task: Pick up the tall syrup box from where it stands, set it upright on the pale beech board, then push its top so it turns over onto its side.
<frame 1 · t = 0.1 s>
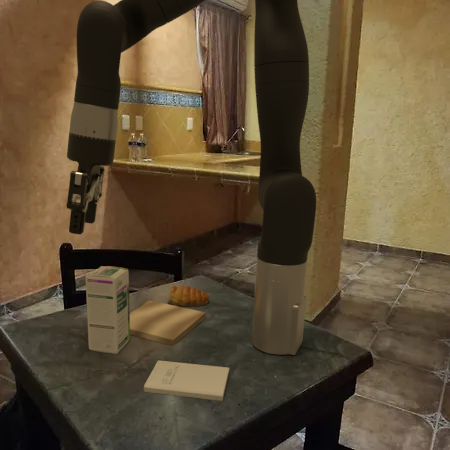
hand: (82, 227, 76), 22 cm above the table, tool pointing down, fingers open, 8 cm apart
board: (160, 323, 91), on the table
syrup box: (109, 346, 81), on the table
pastry: (185, 302, 103), on the table
external hard drive: (188, 385, 71), on the table
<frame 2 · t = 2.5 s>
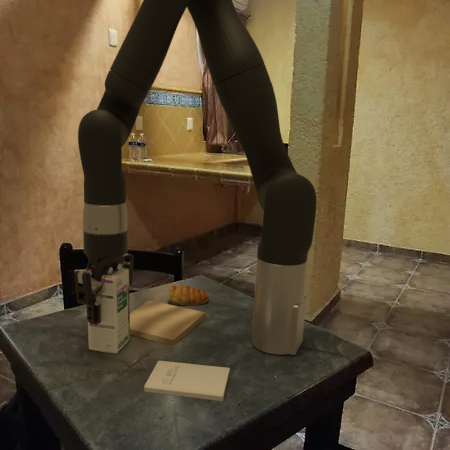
hand: (106, 315, 80), 6 cm above the table, tool pointing down, fingers closed on syrup box, 6 cm apart
syrup box: (109, 345, 81), on the table, touching gripper
everything else where it was.
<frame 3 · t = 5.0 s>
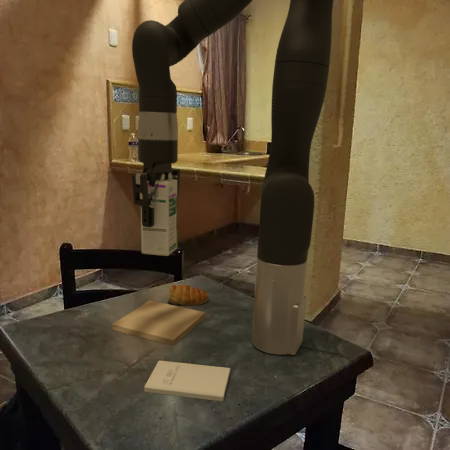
hand: (157, 223, 87), 21 cm above the table, tool pointing down, fingers closed on syrup box, 6 cm apart
syrup box: (159, 252, 88), point 15 cm above the table, touching gripper
everything else where it was.
when the fingers open (8 cm above the table, at t = 7.6 s): syrup box stays where it is, resting on board.
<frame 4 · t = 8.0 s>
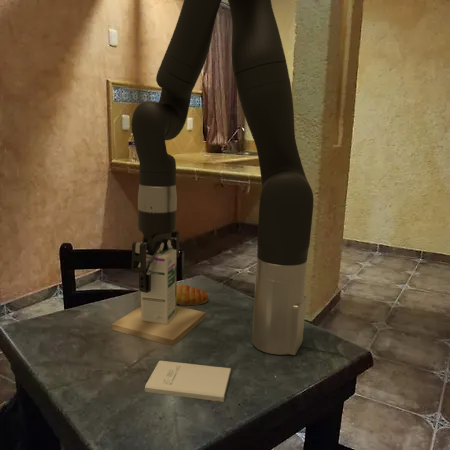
hand: (156, 285, 89), 8 cm above the table, tool pointing down, fingers open, 8 cm apart
syrup box: (158, 318, 91), point 1 cm above the table, touching board
everything else where it was.
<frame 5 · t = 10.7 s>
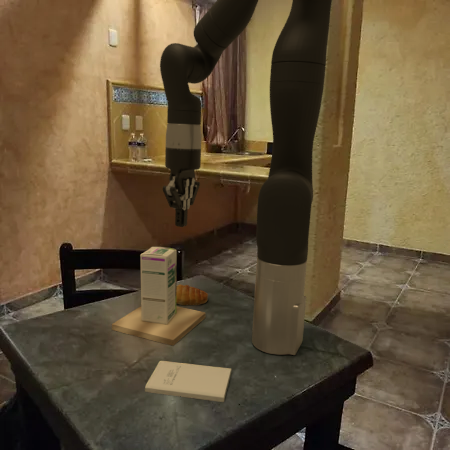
hand: (181, 225, 96), 19 cm above the table, tool pointing down, fingers closed
nothing on the table moved.
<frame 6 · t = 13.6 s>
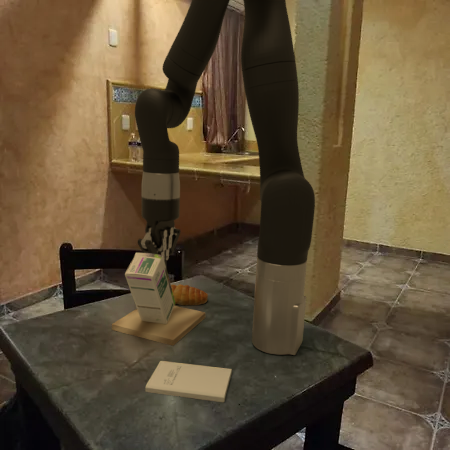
hand: (159, 277, 90), 10 cm above the table, tool pointing down, fingers closed
syrup box: (158, 312, 90), point 2 cm above the table, touching board
everything else where it was.
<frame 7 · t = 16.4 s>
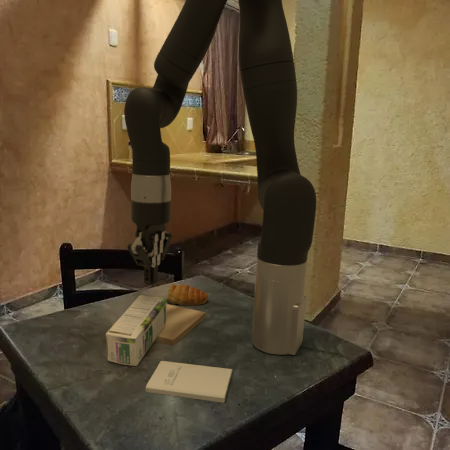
hand: (150, 283, 87), 9 cm above the table, tool pointing down, fingers closed
syrup box: (153, 307, 87), point 5 cm above the table, touching board
everything else where it was.
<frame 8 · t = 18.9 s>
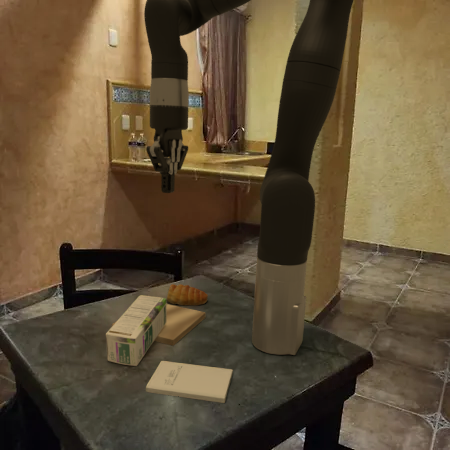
hand: (168, 192, 89), 27 cm above the table, tool pointing down, fingers closed
nothing on the table moved.
at the end: syrup box tilted 97°; syrup box inside the target area (1.6 cm from its centre), point 4.6 cm above the table; the gripper is holding nothing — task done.
